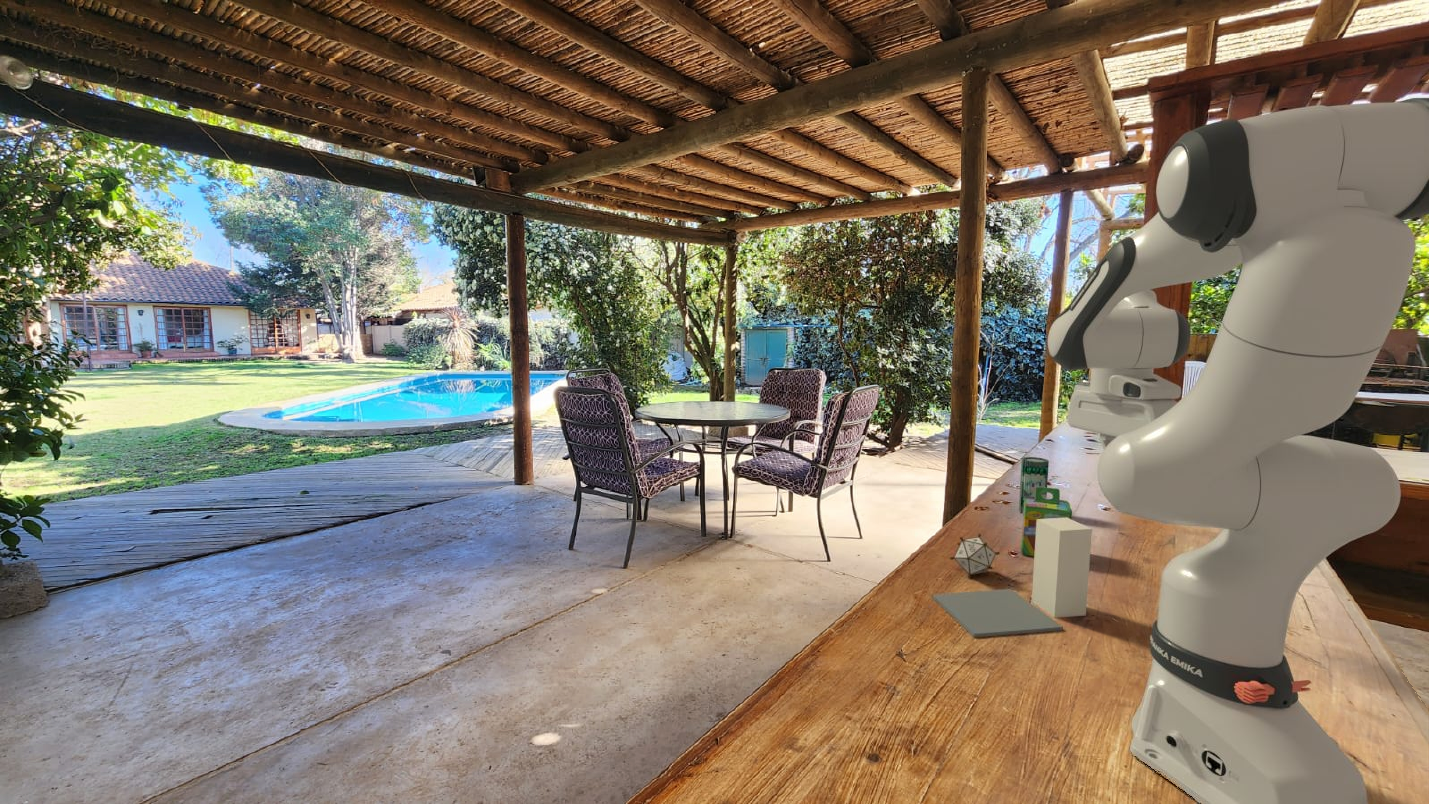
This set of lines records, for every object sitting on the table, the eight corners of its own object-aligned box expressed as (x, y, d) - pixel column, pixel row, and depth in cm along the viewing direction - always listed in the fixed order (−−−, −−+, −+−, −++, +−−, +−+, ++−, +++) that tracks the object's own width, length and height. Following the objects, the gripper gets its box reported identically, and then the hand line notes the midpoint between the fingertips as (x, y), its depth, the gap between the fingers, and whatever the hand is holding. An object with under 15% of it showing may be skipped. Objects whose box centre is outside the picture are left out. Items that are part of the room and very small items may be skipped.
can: (1022, 515, 151) (1025, 461, 149) (1017, 508, 157) (1020, 456, 155) (1047, 517, 150) (1050, 462, 148) (1041, 510, 155) (1044, 457, 153)
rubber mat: (1062, 630, 95) (1063, 626, 95) (973, 637, 93) (973, 633, 93) (1010, 591, 108) (1010, 589, 108) (932, 597, 107) (932, 594, 107)
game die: (982, 594, 116) (1008, 569, 109) (942, 577, 117) (965, 551, 110) (982, 559, 122) (1007, 533, 115) (944, 543, 123) (966, 517, 117)
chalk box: (1021, 555, 125) (1024, 491, 123) (1020, 541, 133) (1023, 481, 131) (1069, 563, 121) (1074, 497, 119) (1065, 548, 129) (1070, 486, 127)
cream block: (1086, 615, 99) (1092, 528, 97) (1054, 617, 99) (1060, 530, 97) (1062, 599, 105) (1067, 517, 103) (1031, 601, 105) (1036, 519, 103)
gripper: (1060, 379, 107) (1056, 449, 109) (1155, 390, 87) (1147, 476, 89) (1091, 378, 108) (1086, 448, 110) (1191, 389, 88) (1183, 474, 90)
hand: (1114, 461), depth 99 cm, fingers closed
